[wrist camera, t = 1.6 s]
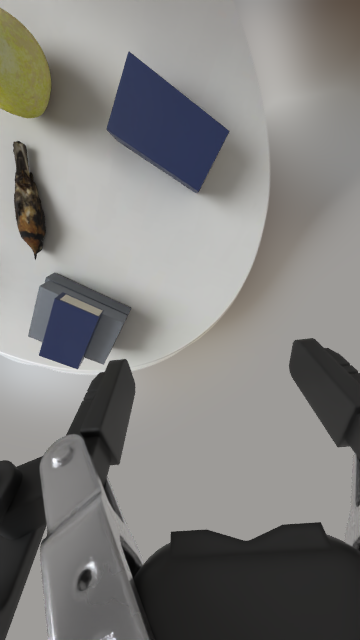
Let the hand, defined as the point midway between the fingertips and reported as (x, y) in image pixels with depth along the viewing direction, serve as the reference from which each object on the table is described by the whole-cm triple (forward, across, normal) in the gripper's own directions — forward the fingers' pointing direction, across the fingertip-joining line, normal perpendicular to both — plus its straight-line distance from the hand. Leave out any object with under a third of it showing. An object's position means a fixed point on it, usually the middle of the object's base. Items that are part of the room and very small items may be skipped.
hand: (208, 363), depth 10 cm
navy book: (+20, +19, +8) cm, 28 cm away
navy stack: (+24, +1, -13) cm, 28 cm away
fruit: (+25, +14, -20) cm, 35 cm away
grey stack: (+24, +19, +8) cm, 32 cm away
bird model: (+25, +20, -9) cm, 33 cm away
